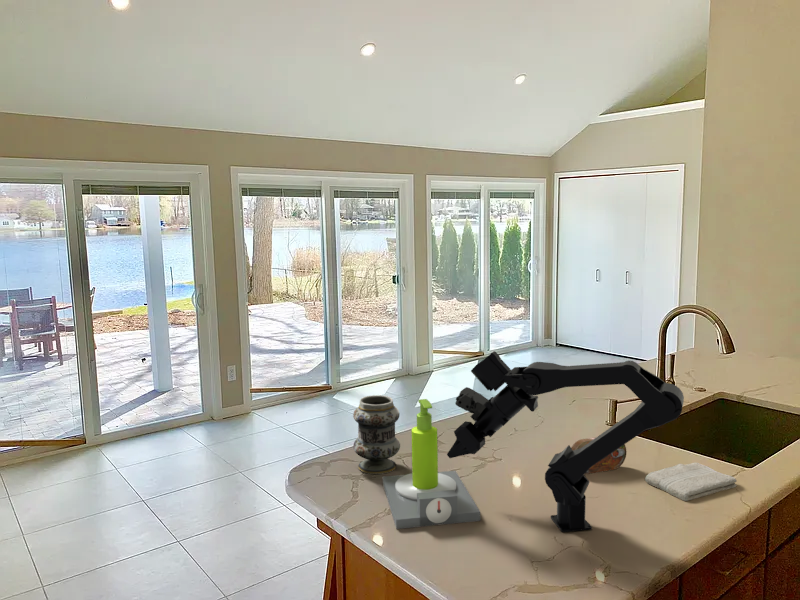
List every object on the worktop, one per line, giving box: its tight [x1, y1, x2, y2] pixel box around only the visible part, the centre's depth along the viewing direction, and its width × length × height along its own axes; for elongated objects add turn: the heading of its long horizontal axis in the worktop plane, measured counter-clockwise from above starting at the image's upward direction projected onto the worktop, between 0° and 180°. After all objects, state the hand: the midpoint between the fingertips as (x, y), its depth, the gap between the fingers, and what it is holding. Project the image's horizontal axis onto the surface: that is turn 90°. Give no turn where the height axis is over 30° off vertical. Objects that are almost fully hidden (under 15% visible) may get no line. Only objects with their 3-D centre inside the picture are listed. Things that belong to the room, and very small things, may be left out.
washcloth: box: [644, 462, 737, 502], centre depth 149 cm, size 12×18×3 cm, turn 116°
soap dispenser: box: [410, 398, 439, 490], centre depth 144 cm, size 6×7×20 cm
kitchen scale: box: [382, 470, 481, 530], centre depth 142 cm, size 22×18×6 cm
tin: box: [570, 436, 627, 475], centre depth 158 cm, size 15×3×8 cm, turn 105°
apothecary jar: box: [352, 394, 401, 475], centre depth 162 cm, size 12×12×18 cm
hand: (456, 449), depth 141 cm, fingers open, 9 cm apart
